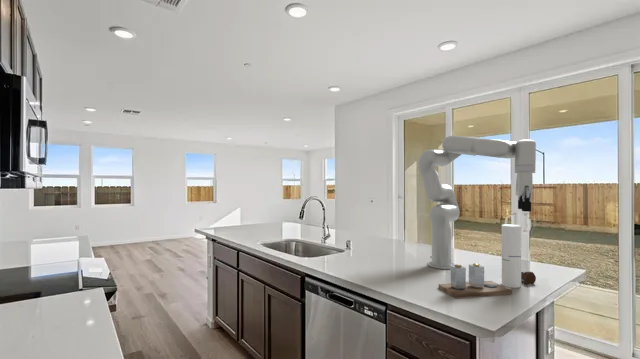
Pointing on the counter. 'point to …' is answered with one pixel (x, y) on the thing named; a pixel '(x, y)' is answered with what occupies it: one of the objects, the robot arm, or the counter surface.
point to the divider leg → (476, 275)
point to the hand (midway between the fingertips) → (524, 210)
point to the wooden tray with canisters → (463, 289)
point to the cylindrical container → (511, 255)
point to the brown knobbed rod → (528, 277)
